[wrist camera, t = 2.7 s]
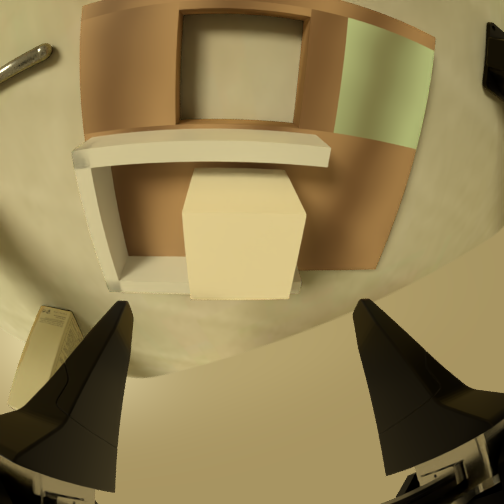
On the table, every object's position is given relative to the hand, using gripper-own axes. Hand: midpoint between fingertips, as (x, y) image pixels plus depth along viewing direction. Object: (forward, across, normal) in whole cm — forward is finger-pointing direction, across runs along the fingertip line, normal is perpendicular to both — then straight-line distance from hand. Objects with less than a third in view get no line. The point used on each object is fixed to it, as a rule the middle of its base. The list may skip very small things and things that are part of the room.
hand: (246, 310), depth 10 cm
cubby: (+8, +2, 0) cm, 8 cm away
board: (+9, -1, -4) cm, 10 cm away
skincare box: (+10, +19, +15) cm, 26 cm away
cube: (+8, 0, 0) cm, 8 cm away
